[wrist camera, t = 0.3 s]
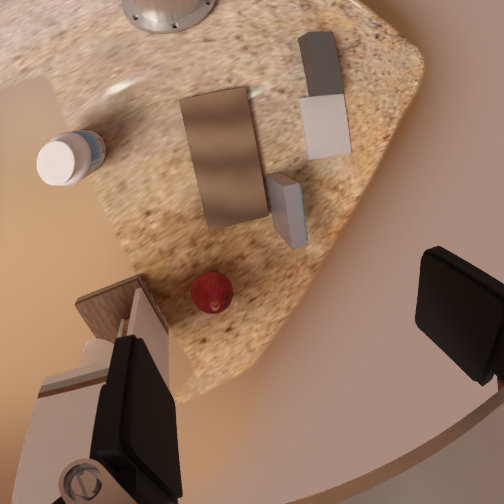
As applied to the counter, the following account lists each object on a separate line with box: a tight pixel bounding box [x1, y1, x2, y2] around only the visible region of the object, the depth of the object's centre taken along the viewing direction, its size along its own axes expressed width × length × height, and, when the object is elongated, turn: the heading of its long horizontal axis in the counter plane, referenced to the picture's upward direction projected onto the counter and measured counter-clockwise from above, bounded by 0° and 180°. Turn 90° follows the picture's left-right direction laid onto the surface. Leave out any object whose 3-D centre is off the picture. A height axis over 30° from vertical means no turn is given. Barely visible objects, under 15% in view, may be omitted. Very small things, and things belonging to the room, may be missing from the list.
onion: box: [191, 272, 233, 314], centre depth 43 cm, size 6×6×8 cm
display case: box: [11, 274, 169, 504], centre depth 30 cm, size 11×11×35 cm
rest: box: [179, 87, 269, 231], centre depth 40 cm, size 18×8×1 cm, turn 10°
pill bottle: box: [37, 130, 106, 186], centre depth 30 cm, size 6×6×11 cm
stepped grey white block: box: [298, 32, 351, 160], centre depth 37 cm, size 18×7×4 cm, turn 10°
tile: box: [265, 173, 308, 249], centre depth 41 cm, size 8×2×8 cm, turn 10°
